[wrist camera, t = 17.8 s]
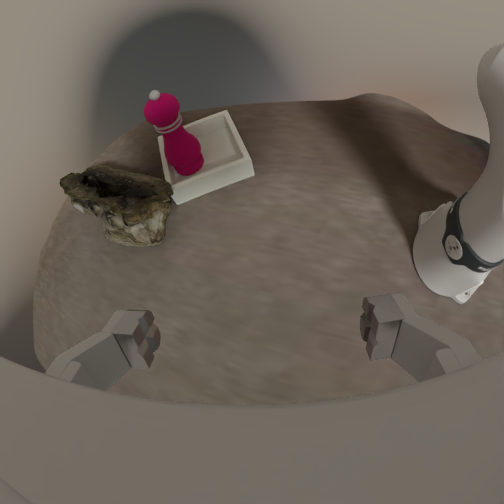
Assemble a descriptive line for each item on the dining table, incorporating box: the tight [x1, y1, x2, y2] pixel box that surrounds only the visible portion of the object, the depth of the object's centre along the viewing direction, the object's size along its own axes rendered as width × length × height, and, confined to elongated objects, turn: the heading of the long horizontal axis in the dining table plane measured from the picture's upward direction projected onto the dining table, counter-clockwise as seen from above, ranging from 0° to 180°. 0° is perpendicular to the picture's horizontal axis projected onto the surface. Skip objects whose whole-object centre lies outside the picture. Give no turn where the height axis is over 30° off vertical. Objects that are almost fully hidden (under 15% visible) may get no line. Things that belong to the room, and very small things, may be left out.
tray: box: [158, 110, 255, 205], centre depth 52 cm, size 16×16×5 cm
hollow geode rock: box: [60, 165, 174, 247], centre depth 47 cm, size 28×13×15 cm
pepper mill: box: [144, 90, 204, 176], centre depth 44 cm, size 7×7×20 cm
